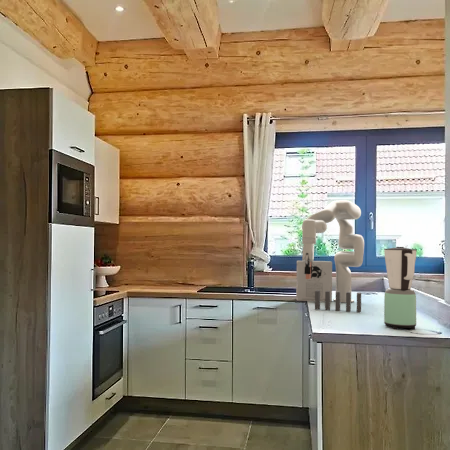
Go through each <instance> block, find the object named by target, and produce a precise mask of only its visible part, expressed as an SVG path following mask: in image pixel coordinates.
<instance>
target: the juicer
mask: <svg viewBox="0 0 450 450" xmlns="http://www.w3.org/2000/svg"><path fill="white" fill-rule="evenodd" d="M417 250H418V249H416V248H415V249H413V248H407V247H404V246H396V247H389V248H383V251H384V260H385V268H386V275H387V281H388V286H389V287H388V288H386V289H385V292H384V299H383V300H384V301H383V303H384V304H383V305H384V306H383V307H384V308H383V310H384V311H383V312H384V313H383V317H384V318H383V323H384V325H385V327H391V328H392V329H393V330H399V329H410V330H415V331H416V326H417V294H416V292H415V290H414V289H413V288H412V285H413V278H414V277H415V265H416V259H417Z"/></svg>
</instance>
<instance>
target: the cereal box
mask: <svg viewBox="0 0 450 450" xmlns="http://www.w3.org/2000/svg"><path fill="white" fill-rule="evenodd" d="M295 280H296V285H295V286H296V288H295V289H296V291H295V292H296V293H295V295H296V297H295V299H296V301H298V302H315V291H316V290H320V302H321V303H322V302H324V303H325V292H326V291H330V303H331V302H332V301H333V261H330V260H329V261H328V260H327V261H325V260H313V261H312V274H311V279H306V274H305V261H303V260H296V279H295Z"/></svg>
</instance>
